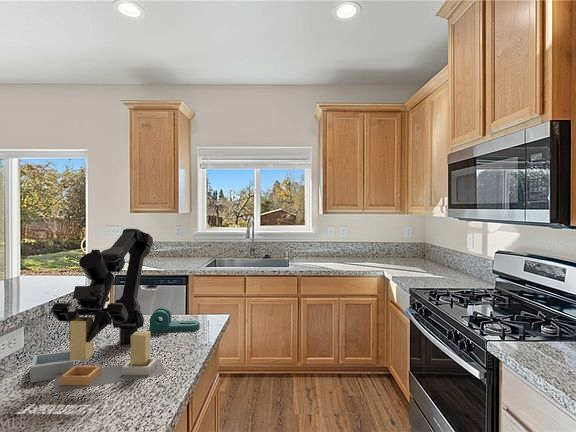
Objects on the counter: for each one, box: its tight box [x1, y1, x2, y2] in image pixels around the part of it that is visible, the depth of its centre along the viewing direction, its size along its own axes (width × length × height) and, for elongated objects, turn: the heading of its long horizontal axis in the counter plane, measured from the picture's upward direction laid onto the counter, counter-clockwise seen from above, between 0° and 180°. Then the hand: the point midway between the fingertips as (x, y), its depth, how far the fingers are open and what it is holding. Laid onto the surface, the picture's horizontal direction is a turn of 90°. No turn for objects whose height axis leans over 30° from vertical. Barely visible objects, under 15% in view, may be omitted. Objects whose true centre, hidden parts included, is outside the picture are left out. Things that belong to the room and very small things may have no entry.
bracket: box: [149, 306, 201, 333], centre depth 155 cm, size 18×7×8 cm, turn 98°
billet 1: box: [69, 316, 94, 361], centre depth 105 cm, size 4×4×10 cm
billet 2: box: [130, 330, 151, 366], centre depth 111 cm, size 4×4×10 cm
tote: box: [29, 350, 75, 384], centre depth 112 cm, size 10×10×4 cm
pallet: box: [52, 357, 167, 394], centre depth 108 cm, size 12×26×4 cm, turn 117°
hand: (79, 341), depth 104 cm, fingers closed on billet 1, 4 cm apart
